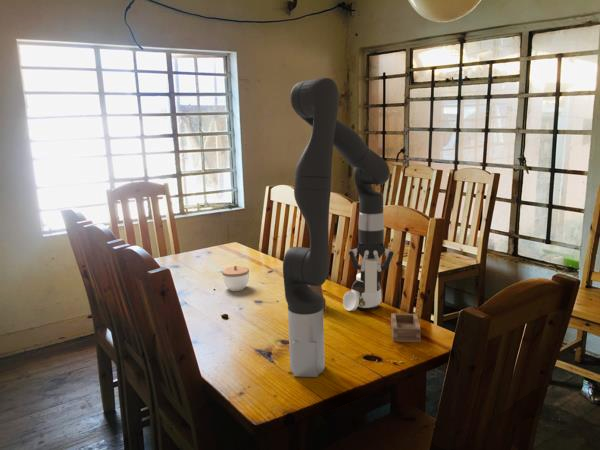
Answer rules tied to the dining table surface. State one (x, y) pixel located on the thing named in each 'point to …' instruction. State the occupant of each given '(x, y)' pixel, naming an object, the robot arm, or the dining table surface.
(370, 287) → the white rectangular block
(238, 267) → the lidded jar
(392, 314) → the brown wooden box
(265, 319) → the dining table surface
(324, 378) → the dining table surface
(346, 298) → the spread jar
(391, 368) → the dining table surface
